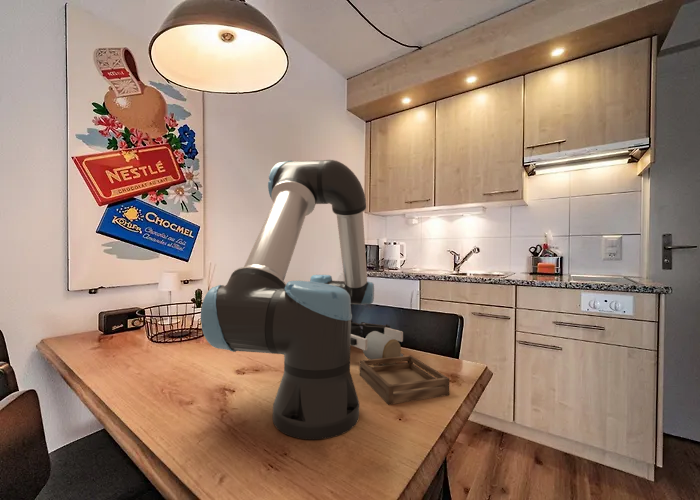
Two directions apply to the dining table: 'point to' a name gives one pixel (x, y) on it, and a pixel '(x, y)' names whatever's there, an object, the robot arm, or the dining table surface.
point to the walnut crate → (403, 379)
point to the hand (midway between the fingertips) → (385, 340)
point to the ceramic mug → (381, 347)
